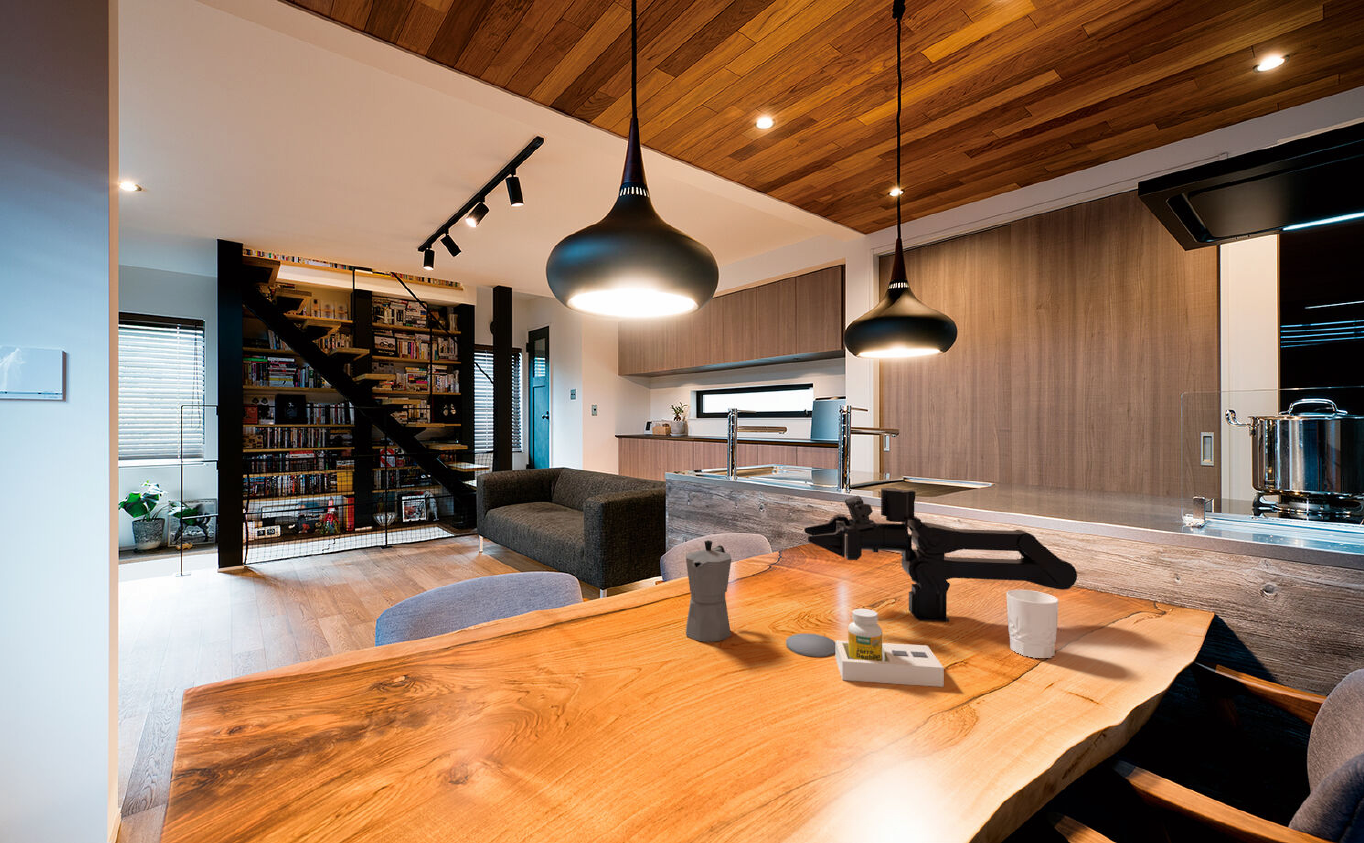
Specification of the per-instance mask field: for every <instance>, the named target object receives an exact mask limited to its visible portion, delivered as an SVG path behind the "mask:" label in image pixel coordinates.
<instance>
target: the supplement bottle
mask: <svg viewBox="0 0 1364 843" xmlns="http://www.w3.org/2000/svg"><path fill="white" fill-rule="evenodd" d="M851 616H852V617H851V618H852V619H851V620H852V622H850V623H849V625H848V629H847V630H848V632H847V633H848V636H847V637H848V640H847V641H849V659H856V660H872V661H882V643H883V630H882V628H881V627H882V626H880V625H879V624H877V623H878V622H879V619H878V618H879V617H878V616H879V615H878V612H877V611H875V610H873V609H869V608H856V609H853V610H852V615H851Z"/></svg>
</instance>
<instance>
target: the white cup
mask: <svg viewBox="0 0 1364 843" xmlns="http://www.w3.org/2000/svg"><path fill="white" fill-rule="evenodd" d="M1005 593H1006V594H1005V595H1006V611H1007V612H1006V613H1007V626H1008V634H1009V646H1010V650H1011V651H1013V652H1014V651H1015V652H1016V653H1015V652H1014V653H1015V654H1017V653H1019V654H1018V655H1020V654H1021V655H1020V656H1022V655H1023V657H1026V656H1028V657H1027V658H1030V657H1033V658H1032V659H1035V658H1051V657H1052V656H1054V657H1055V652H1056V651H1055V650H1056V648H1055V647H1056V641H1057V631H1058V617H1059V598H1057V597H1056V596H1054V595H1051V594H1050V593H1049V594H1048V593H1045V592H1042V591H1037V590H1030V589H1010V590H1007V591H1006V592H1005ZM1052 658H1053V657H1052ZM1052 658H1051V659H1052Z"/></svg>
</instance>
